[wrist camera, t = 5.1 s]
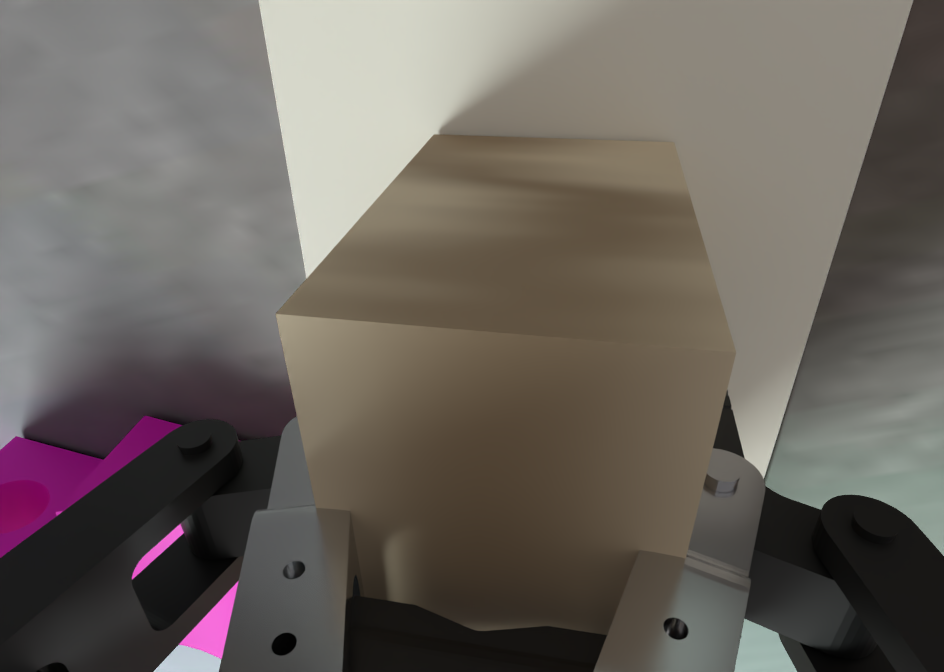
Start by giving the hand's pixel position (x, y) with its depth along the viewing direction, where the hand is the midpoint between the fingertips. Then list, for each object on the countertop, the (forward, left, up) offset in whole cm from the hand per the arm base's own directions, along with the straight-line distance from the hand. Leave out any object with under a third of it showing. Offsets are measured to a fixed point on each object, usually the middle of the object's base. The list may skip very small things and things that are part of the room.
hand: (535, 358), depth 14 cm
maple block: (0, 0, -1) cm, 1 cm away
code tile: (0, 0, -1) cm, 1 cm away
